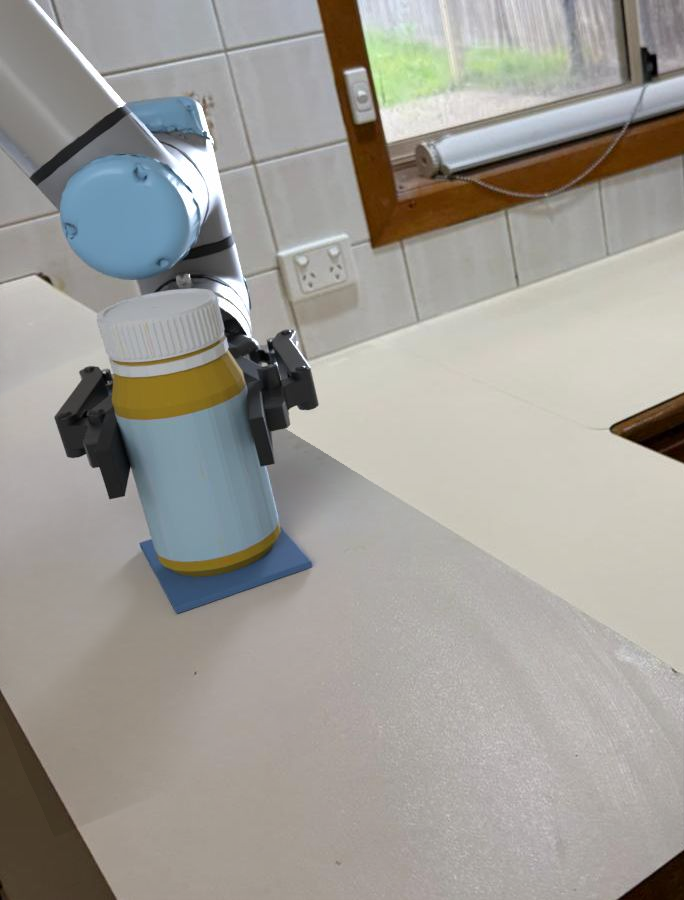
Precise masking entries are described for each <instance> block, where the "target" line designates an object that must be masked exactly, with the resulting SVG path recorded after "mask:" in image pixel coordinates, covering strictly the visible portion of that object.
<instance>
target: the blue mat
mask: <svg viewBox="0 0 684 900" xmlns="http://www.w3.org/2000/svg"><path fill="white" fill-rule="evenodd" d="M280 531H281V532H280V534H279V536H278V538H277V540H276V541H275V543H274V545H273V546H272V548H271V550H270V551H269V552H268V553H267V554H265V555H264V556H263V557H262V558H261V559H259V560H257V561H255V562H253V563H251V564H250V565H248V566H246V567H243V568H240V569H237V570H234V571H232V572H228V573H223V574H219V575H215V576H203V577H192V576H183V575H180V574H178V573H175V572H173V571H172V570H170V569H168V568H166V567H165V566H163V565H162V564H161V563H160V561H159V560H158V556H157V553H156V551H155V548H154V545H153V541H152V538H150V539H147V540H143V541H141V542H139V547H140V550H141V552H142V553H143V556H144V557H145V559H146V560H147V563H148V564H149V566H150V568H151V571H152V572H153V574H154V575H155V578H156V579H157V581H158V583H159V584H160V587H161V588H162V590H163V592H164V594H165V596H166V598H167V599H168V601H169V603H170V605H171V606H172V609H173V610H174V612H175V614H176V615H178V614H181V613H184V612H186V611H190V610H193V609H195V608H198V607H201V606H205V605H206V604H209V603H213V602H215V601H216V602H217V601H219V600H221V599H224V598H227V597H229V596H234V595H235V594H238V593H241V592H244V591H247V590H249V589H253V588H256V587H259V586H261V585H264V584H267V583H271V582H273V581H275V580H279V579H281V578H285V577H287V576H291V575H294V574H296V573H298V572H302V571H305V570H308V569H310V568H313V565H312V561H311V559H309V557H308V556H307V555H306V554H305V553H304V552H303V551H302V549H301V548H300V547H299V546H298V544H297V543H296V542H295V541H294V540H293V539H292V538H291V536H290V535H289V534H288V533H287V532H286V530H285V529H284V528H283V527H282V526H281V525H280Z"/></svg>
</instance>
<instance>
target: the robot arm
mask: <svg viewBox="0 0 684 900" xmlns="http://www.w3.org/2000/svg"><path fill="white" fill-rule="evenodd" d="M205 117H206V116H205V114H204V111H203V107H202V106H201V104H200V103H199V102H198V100H197V99H195V98H192V97H190V96H184V95H183V96H181V95H178V96H177V95H176V96H166V97H165V96H164V97H156V98H148V99H141V100H133V101H127V102H125V100H123V98H122V97H121V96H120V95H119V94H118V93H117V91H115V90H114V88H113V87H112V86H111V85H110V84H109V83H108V81H107V80H106V79H105V78H104V77H103V75H101V73H100V72H99V71H98V70H97V69H96V67H95V66H93V64H92V63H91V62H90V61H89V60H88V58H87V57H86V56H85V55H84V54H83V53H82V52H81V50H80V49H79V48H78V47H77V46H76V45H75V44H74V43H73V41H71V39H70V38H69V37H68V36H67V34H65V32H64V31H63V30H62V29H61V28H60V26H59V25H58V24H57V23H56V22H55V20H53V18H52V17H51V16H50V15H49V14H48V13H47V11H46V10H45V9H44V8H43V7H42V6H41V5H40V4H39V2H38V1H37V0H0V150H2V152H3V153H4V154H5V155H6V156H7V157H8V158H9V159H10V160H11V161H12V162H13V164H15V166H17V167H18V168H19V169H20V171H21V172H22V173H23V174H24V175H25V176H26V177H27V178H28V179H29V180H30V182H32V183H33V184H34V185H35V186H36V187H37V189H38V190H39V191H40V192H41V193H42V194H43V195H44V197H45V198H46V199H47V200H48V201H49V202H50V203H51V204H52V205H53V207H55V208H56V209H57V210H58V211H59V218H60V224H61V230H62V232H63V235H64V237H65V240H66V241H67V244H68V245H69V247H70V249H71V250H72V251H73V253H74V254H75V255H76V256H77V257H78V258H79V259H80V260H81V261H82V262H83V263H84V264H86V265H87V266H88V267H89V268H90V269H92V270H94V271H96V272H97V273H100V274H102V275H104V276H107V277H109V278H110V277H111V278H113V279H118V280H124V281H137V282H138V285H139V289H140V292H141V296H142V295H146V294H151V293H156V292H162V291H168V290H177V289H207V290H211V291H213V292H214V293H215V296H216V297H217V300H218V304H219V308H220V312H221V316H222V320H223V324H224V329H225V330H224V335H225V336H226V338H227V342H228V346H229V348H228V350H229V352H230V353H231V355H232V356H233V358H234V359H235V361H236V362H237V364H238V365H239V367H240V368H241V370H242V371H243V375H244V379H245V381H246V385H247V389H248V394H247V402H248V418H249V423H250V427H251V431H252V435H253V439H254V443H255V447H256V451H257V455H258V459H259V463H260V467H262V466H266V467H267V466H269V465H270V466H271V465H275V464H276V461H275V453H274V444H273V436H272V434H273V433H272V432H276V431H279V430H280V431H281V430H285V429H288V428H289V427H290V425H291V420H290V411H289V410H290V409H292V408H295V407H297V408H298V410H300V411H312V410H314V409H316V408H317V407H319V405H320V403H319V399H318V395H317V389H316V386H315V385H316V384H315V381H314V377H313V372H312V368H311V365H310V364H309V363H308V361H307V359H306V358H305V357H304V356H303V354H302V353H301V349H300V345H299V342H298V338H297V333H296V330H295V329H283V330H281V331H279V332H278V333H276V334H275V336H274V337H268V338H266V344H260V345H259V342H258V341H257V340H255V338H253V332H252V331H253V329H252V321H251V315H250V312H251V310H252V300H251V296H250V295H251V294H250V291H249V287H248V282H247V280H246V278H245V277H244V276H243V271H242V266H241V263H240V258H239V254H238V249H237V245H236V242H235V239H234V235H233V232H232V229H231V223H230V219H229V215H228V210H227V206H226V201H225V195H224V192H223V188H222V183H221V179H220V174H219V169H218V164H217V160H216V155H215V152H214V146H215V143H214V138H213V137H212V135H210V131H209V128H208V124H207V120H206V118H205ZM263 364H267V365H264V366H263ZM78 374H79V376H80V382H79V383H77V386H76V387H75V388H74V389H73V391H72V392H71V394H70V395H69V396H68V398H67V399H66V400H65V401H64V403H63V404H62V406H61V407H60V408H59V409H58V411H57V412H56V414H55V415H54V416H53V417H54V421H55V424H56V427H57V431H58V434H59V437H60V440H61V443H62V446H63V449H64V452H65V455H66V457H67V458H68V459H69V458H70V459H76V458H82V457H83V456H84V455H86V457H87V460H88V464H89V466H90V467H91V468H92V469H96V468H99V471H100V474H101V478H102V480H103V484H104V487H105V489H106V493H107V496H108V499H109V500H114V499H118V498H122V497H125V496H126V492H127V487H128V483H129V477H130V472H131V466H130V462H129V459H128V456H127V452H126V449H125V446H124V442H123V439H122V436H121V432H120V429H119V426H118V422H117V419H116V415H115V412H114V406H113V403H112V391H113V379H114V373H112V372H111V368H103V369H101V368H100V367H99V366H95V365H88V366H85V367H84V368H82V369H80V370H79V371H78Z"/></svg>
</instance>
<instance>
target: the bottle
mask: <svg viewBox="0 0 684 900" xmlns="http://www.w3.org/2000/svg"><path fill="white" fill-rule="evenodd" d="M96 322H97V326H98V330H99V334H100V336H101V337H100V338H101V340H102V344H103V347H104V350H105V354H106V355H107V356H108V361H109V364H110V369H111V371H112V374H114V379H113V391H112V403H113V406H114V412H115V415H116V419H117V422H118V426H119V429H120V432H121V436H122V439H123V442H124V446H125V449H126V452H127V456H128V459H129V462H130V466H131V468H130V471H131V473H132V476H133V477H132V478H133V479H134V483H135V487H136V490H137V493H138V497H139V500H140V504H141V508H142V511H143V514H144V518H145V521H146V524H147V527H148V531H149V535H150V539H152V541H153V545H154V548H155V551H156V553H157V556H158V560H159V561H160V563H161V564H162V565H163V566H165V567H166V568H168V569H170V570H172V571H173V572H175V573H178V574H180V575H183V576H192V577H203V576H215V575H219V574H223V573H228V572H232V571H234V570H237V569H240V568H243V567H246V566H248V565H250V564H251V563H253V562H255V561H257V560H259V559H261V558H262V557H263V556H264V555H265V554H267V553H268V552H269V551H270V550H271V548H272V546H273V545H274V543H275V541H276V540H277V538H278V536H279V534H280V532H281V531H280V526H281V524H280V520H279V513H278V509H277V504H276V501H275V497H274V493H273V489H272V485H271V484H272V483H271V480H270V476H269V472H268V468H267V465H266V466H262V467H260V463H259V459H258V455H257V451H256V447H255V443H254V439H253V435H252V431H251V427H250V423H249V418H248V402H247V394H248V389H247V385H246V381H245V379H244V375H243V371H242V370H241V368H240V367H239V365H238V364H237V362H236V361H235V359H234V358H233V356H232V355H231V353H230V352H229V350H228V348H229V346H228V342H227V338H226V336H225V335H224V330H225V329H224V324H223V320H222V316H221V312H220V308H219V304H218V300H217V297H216V296H215V293H214V292H213V291H211V290H207V289H177V290H168V291H162V292H156V293H151V294H146V295H142V294H141V295H138V296H133V297H130V298H127V299H124V300H121V301H117V302H115V303H113V304H111V305H108V306H106V307H104V308H103V309H101V310H100V311H99V312H98V313H97V314H96Z"/></svg>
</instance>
